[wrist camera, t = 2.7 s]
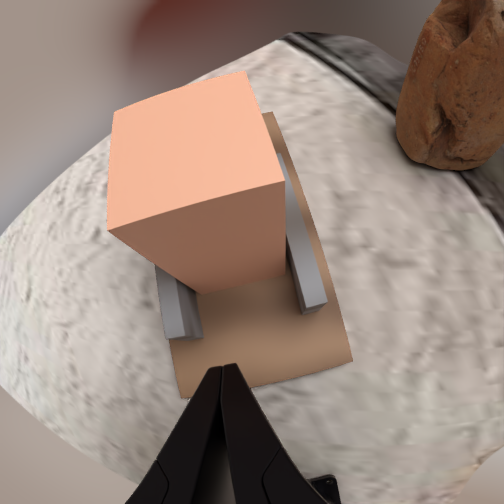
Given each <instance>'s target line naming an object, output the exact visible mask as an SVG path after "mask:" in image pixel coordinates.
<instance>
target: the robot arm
mask: <svg viewBox="0 0 504 504" xmlns="http://www.w3.org/2000/svg"><path fill="white" fill-rule="evenodd" d="M156 459H157V460H155V461H154V463H153V464H152V466H151V468H150V469H149V471H148V472H147V474H146V475H145V477H144V479H143V480H142V482H141V483H140V484H139V486H138V487H137V489H136V490H135V491H134V493H133V494H132V495H131V497H130V498H129V499H128V500H127V501H126V503H125V504H341V501H340V496H339V491H338V486H337V481H336V478H335V476H333V475H327V476H323V477H319V478H315V479H311V480H308V479H305V477H304V476H303V475H302V474H301V473H300V471H299V470H298V468H297V467H296V466H295V464H294V463H293V461H292V460H291V458H290V457H289V455H288V453H287V452H286V450H285V448H283V445H282V444H281V442H280V440H279V439H278V437H277V435H276V433H275V432H274V430H273V428H272V427H271V425H270V423H269V421H268V420H267V418H266V416H265V414H264V413H263V411H262V409H261V407H260V405H259V404H258V402H257V400H256V398H255V396H254V395H253V393H252V391H251V389H250V387H249V385H248V384H247V382H246V380H245V378H244V376H243V374H242V372H241V370H240V368H239V367H238V365H237V363H231V364H225V365H223V366H215V367H210V368H208V370H207V371H206V373H205V375H204V377H203V378H202V380H201V382H200V384H199V385H198V387H197V389H196V391H195V392H194V394H193V396H192V398H191V399H190V401H189V403H188V405H187V406H186V408H185V410H184V412H183V413H182V415H181V417H180V418H179V420H178V422H177V424H176V425H175V427H174V429H173V430H172V432H171V434H170V436H169V437H168V439H167V441H166V442H165V444H164V446H163V448H162V449H161V451H160V453H159V454H158V456H157V458H156ZM328 480H332V482H330V483H328V482H327V481H328Z"/></svg>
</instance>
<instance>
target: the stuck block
mask: <svg viewBox="0 0 504 504" xmlns="http://www.w3.org/2000/svg"><path fill="white" fill-rule="evenodd" d="M107 231H109V232H110V233H111V234H113V235H114V236H115V237H117V238H118V239H120V240H121V241H122V242H124V243H125V244H127V245H128V246H129V247H131V248H132V249H134V250H135V251H137V252H138V253H139V254H141V255H142V256H144V257H145V258H147V259H148V260H150V261H151V262H152V263H154V264H155V265H157V266H158V267H160V268H161V269H163V270H164V271H166V272H167V273H169V274H170V275H172V276H173V277H175V278H176V279H178V280H179V281H181V282H182V283H184V284H185V285H187V286H189V287H190V288H192V289H193V290H195V291H196V292H198V293H199V294H201V295H203V294H207V293H211V292H215V291H220V290H224V289H228V288H232V287H237V286H241V285H245V284H249V283H253V282H257V281H261V280H265V279H269V278H273V277H277V276H281V275H285V255H286V211H285V179H284V176H283V173H282V170H281V167H280V164H279V161H278V158H277V155H276V152H275V150H274V147H273V144H272V141H271V138H270V136H269V133H268V130H267V127H266V125H265V122H264V119H263V117H262V114H261V111H260V109H259V106H258V103H257V101H256V98H255V95H254V93H253V90H252V88H251V85H250V83H249V80H248V78H247V75H246V73H245V71H241V72H236V73H232V74H228V75H223V76H219V77H215V78H211V79H208V80H204V81H200V82H197V83H193V84H190V85H187V86H183V87H180V88H177V89H174V90H171V91H168V92H165V93H162V94H159V95H156V96H153V97H151V98H148V99H145V100H142V101H140V102H137V103H135V104H132V105H130V106H127V107H125V108H122V109H120V110H118V111H115V112H114V118H113V126H112V135H111V145H110V157H109V171H108V194H107Z"/></svg>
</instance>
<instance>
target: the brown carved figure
mask: <svg viewBox="0 0 504 504" xmlns="http://www.w3.org/2000/svg"><path fill="white" fill-rule="evenodd" d="M396 128H397V131H396V136H397V138H398V141H399V143H400V145H401V147H402V148H403V149H404V151H405V152H406V154H407V156H408V157H409V158H410V159H412V160H414V161H416V162H419V163H425V164H427V165H430V166H433V167H435V168H438V169H449V170H467V169H472V168H475V167H479V166H481V165H483V164H484V163H485V162H486V161H487V160H488V159H489V158H490V157H491V156H492V155H493V154H494V153H495V152H496V151H497V150H498V149H499V148H500V147H501V146H502V144H503V143H504V0H442V1H441V2H440V4H439V5H438V6H437V7H436V8H435V10H434V12H433V13H432V14H431V15H430V16H429V17H428V19H427V20H426V22H425V24H424V26H423V29H422V31H421V33H420V35H419V38H418V41H417V44H416V46H415V49H414V52H413V55H412V58H411V61H410V65H409V68H408V71H407V74H406V77H405V80H404V83H403V86H402V90H401V93H400V96H399V100H398V105H397V110H396Z"/></svg>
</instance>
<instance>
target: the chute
mask: <svg viewBox="0 0 504 504" xmlns="http://www.w3.org/2000/svg"><path fill="white" fill-rule="evenodd" d="M262 117H263V119H264V122H265V125H266V127H267V130H268V133H269V136H270V138H271V141H272V144H273V147H274V150H275V152H276V155H277V158H278V161H279V164H280V167H281V170H282V173H283V176H284V179H285V211H286V255H285V275H281V276H277V277H273V278H269V279H265V280H261V281H257V282H253V283H249V284H245V285H241V286H237V287H232V288H228V289H224V290H220V291H215V292H211V293H207V294H203V295H201V294H199V293H198V292H196V291H195V290H193V289H192V288H190V287H189V286H187V285H185V284H184V283H182V282H181V281H179V280H178V279H176V278H175V277H173V276H172V275H170V274H169V273H167V272H166V271H164V270H163V269H161V268H160V267H158V266H157V265H155V271H156V279H157V287H158V294H159V301H160V307H161V314H162V320H163V326H164V332H165V338H166V339H169V343H170V349H171V354H172V359H173V364H174V369H175V373H176V378H177V383H178V387H179V391H180V396H181V398H189V397H192V396H193V394H194V392H195V391H196V389H197V387H198V385H199V384H200V382H201V380H202V378H203V377H204V375H205V373H206V371H207V370H208V368H210V367H215V366H223V365H225V364H231V363H237V365H238V367H239V368H240V370H241V372H242V374H243V376H244V378H245V380H246V382H247V384H248V385H249V387H250V388H251V387H256V386H261V385H266V384H270V383H275V382H279V381H283V380H288V379H292V378H296V377H300V376H304V375H307V374H311V373H315V372H319V371H322V370H326V369H329V368H333V367H336V366H339V365H342V364H346V363H349V362H352V361H353V358H352V354H351V350H350V346H349V342H348V338H347V334H346V330H345V326H344V323H343V319H342V315H341V311H340V308H339V304H338V301H337V297H336V293H335V290H334V286H333V283H332V280H331V276H330V273H329V269H328V266H327V263H326V260H325V256H324V253H323V250H322V247H321V243H320V240H319V237H318V234H317V231H316V228H315V225H314V222H313V219H312V216H311V213H310V210H309V207H308V204H307V201H306V198H305V195H304V193H303V190H302V187H301V184H300V181H299V179H298V176H297V173H296V170H295V168H294V165H293V162H292V160H291V157H290V154H289V152H288V149H287V146H286V144H285V141H284V139H283V136H282V134H281V131H280V129H279V126H278V124H277V121H276V119H275V116H274V114H273V112H268V113H263V114H262Z"/></svg>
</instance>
